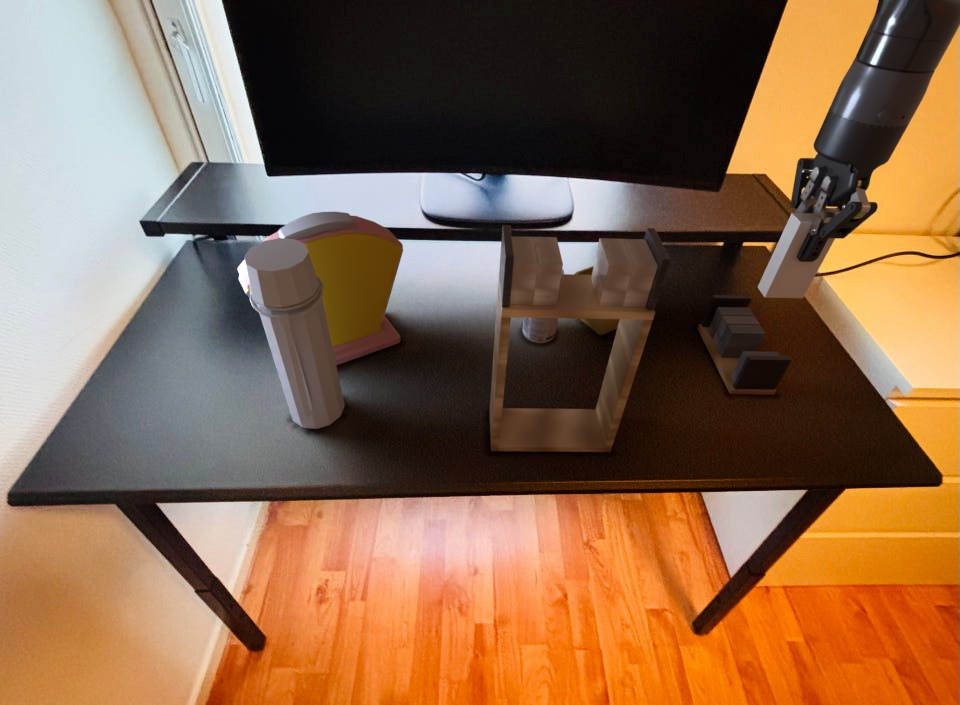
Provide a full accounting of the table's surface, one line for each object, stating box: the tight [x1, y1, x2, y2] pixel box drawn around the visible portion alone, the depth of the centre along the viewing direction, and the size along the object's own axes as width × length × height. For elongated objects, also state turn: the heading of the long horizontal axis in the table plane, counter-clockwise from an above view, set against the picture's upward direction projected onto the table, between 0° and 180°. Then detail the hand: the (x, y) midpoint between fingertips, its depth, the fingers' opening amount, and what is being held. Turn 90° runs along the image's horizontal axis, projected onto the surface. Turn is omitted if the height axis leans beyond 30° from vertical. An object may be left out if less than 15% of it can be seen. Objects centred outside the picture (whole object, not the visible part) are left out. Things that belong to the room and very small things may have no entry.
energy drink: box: [522, 268, 565, 344], centre depth 83 cm, size 5×5×12 cm
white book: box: [757, 212, 836, 299], centre depth 68 cm, size 2×5×11 cm, turn 91°
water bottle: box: [243, 238, 345, 430], centre depth 64 cm, size 9×8×25 cm
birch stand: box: [489, 280, 654, 453], centre depth 64 cm, size 16×7×22 cm, turn 91°
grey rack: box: [697, 294, 793, 396], centre depth 81 cm, size 15×7×7 cm, turn 1°
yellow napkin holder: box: [237, 211, 404, 366], centre depth 76 cm, size 22×9×22 cm, turn 122°
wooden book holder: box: [498, 224, 671, 320], centre depth 54 cm, size 16×7×7 cm, turn 91°
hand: (799, 253), depth 67 cm, fingers closed on white book, 2 cm apart
